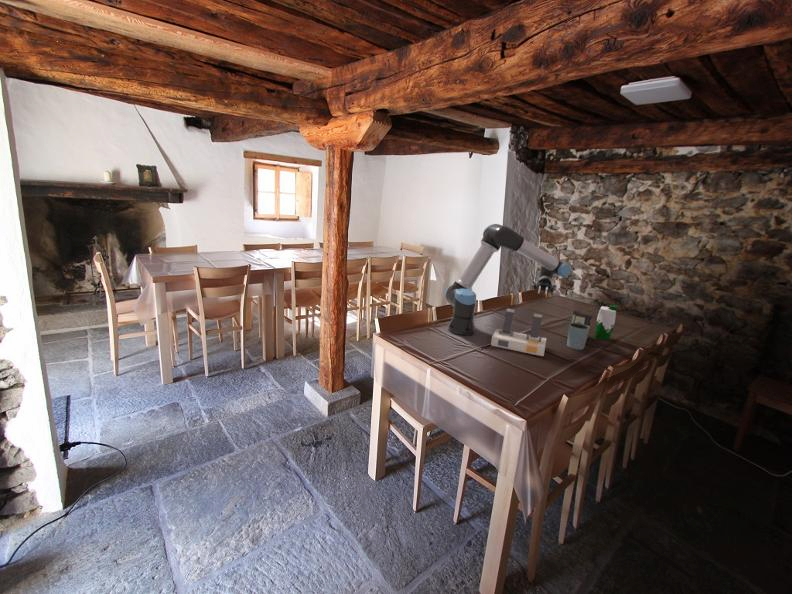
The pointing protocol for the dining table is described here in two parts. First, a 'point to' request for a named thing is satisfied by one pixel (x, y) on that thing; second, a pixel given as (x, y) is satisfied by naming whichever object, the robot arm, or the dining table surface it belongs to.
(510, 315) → the left paddle
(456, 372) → the dining table surface
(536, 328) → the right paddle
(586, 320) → the coffee can
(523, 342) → the console
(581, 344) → the drinking glass
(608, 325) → the milk carton
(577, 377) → the dining table surface
